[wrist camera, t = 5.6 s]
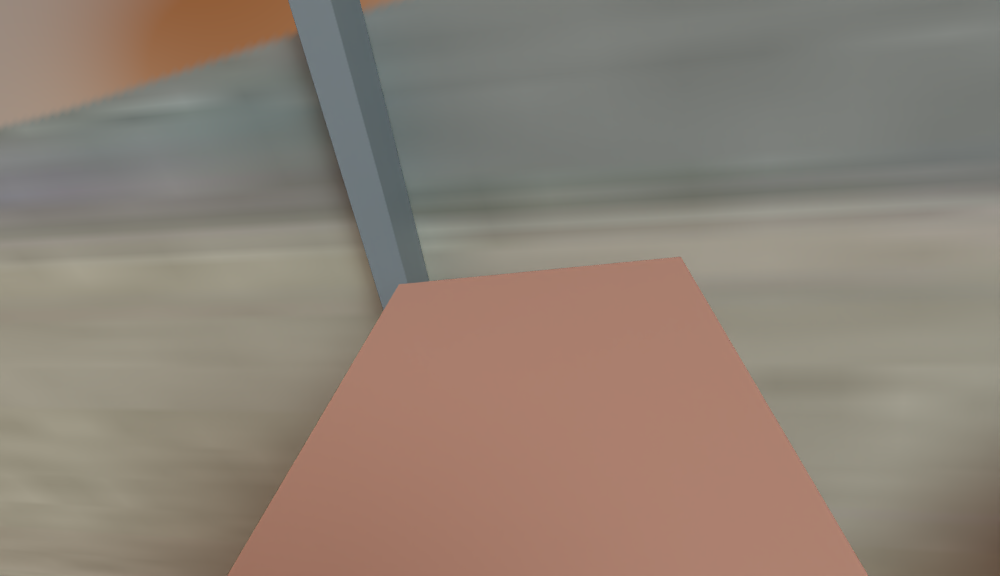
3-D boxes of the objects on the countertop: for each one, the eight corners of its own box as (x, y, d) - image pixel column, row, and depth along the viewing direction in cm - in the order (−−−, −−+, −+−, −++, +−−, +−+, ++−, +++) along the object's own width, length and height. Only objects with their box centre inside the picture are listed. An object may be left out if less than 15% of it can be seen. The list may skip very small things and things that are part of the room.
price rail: (292, -272, 10) (239, -334, 9) (506, 592, 25) (503, 634, 23) (244, -258, 10) (183, -317, 9) (485, 592, 25) (480, 634, 23)
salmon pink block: (680, 256, 8) (931, 681, 3) (673, 538, 11) (779, 968, 6) (390, 284, 9) (158, 661, 4) (465, 541, 12) (403, 925, 7)
